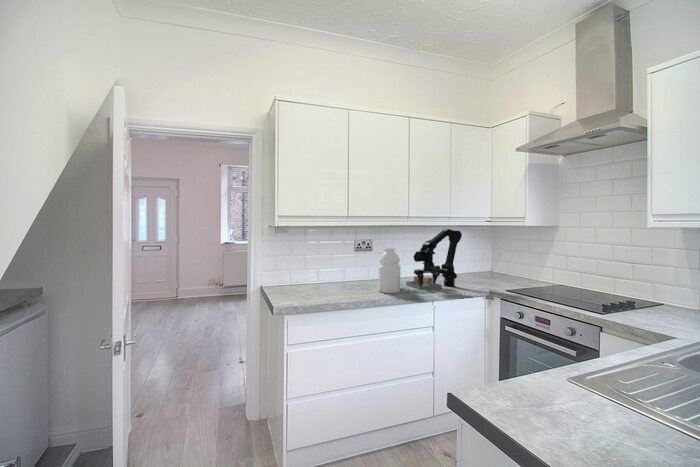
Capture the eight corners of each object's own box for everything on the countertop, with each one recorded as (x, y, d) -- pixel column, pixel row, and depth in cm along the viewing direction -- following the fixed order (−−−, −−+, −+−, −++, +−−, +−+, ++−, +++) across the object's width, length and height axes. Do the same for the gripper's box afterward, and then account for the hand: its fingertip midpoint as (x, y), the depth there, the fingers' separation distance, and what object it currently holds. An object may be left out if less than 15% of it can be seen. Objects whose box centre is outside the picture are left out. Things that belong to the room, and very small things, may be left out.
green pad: (425, 290, 218) (425, 289, 218) (434, 293, 209) (434, 291, 209) (412, 291, 215) (412, 290, 215) (420, 294, 205) (420, 293, 205)
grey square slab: (426, 284, 240) (426, 280, 240) (441, 289, 223) (441, 284, 223) (406, 286, 234) (406, 281, 234) (420, 290, 217) (420, 286, 217)
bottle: (404, 291, 214) (405, 248, 213) (389, 294, 205) (389, 248, 205) (389, 288, 225) (389, 246, 224) (373, 291, 216) (374, 247, 216)
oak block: (429, 287, 227) (429, 276, 226) (433, 288, 222) (433, 277, 222) (422, 287, 225) (422, 277, 225) (426, 289, 220) (427, 278, 220)
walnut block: (420, 284, 237) (420, 276, 237) (424, 285, 232) (424, 277, 232) (414, 285, 235) (414, 276, 235) (417, 286, 231) (418, 277, 230)
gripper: (422, 262, 212) (422, 287, 213) (447, 261, 219) (447, 285, 219) (413, 261, 223) (413, 284, 223) (437, 260, 229) (437, 282, 230)
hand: (428, 284), depth 223 cm, fingers open, 9 cm apart
